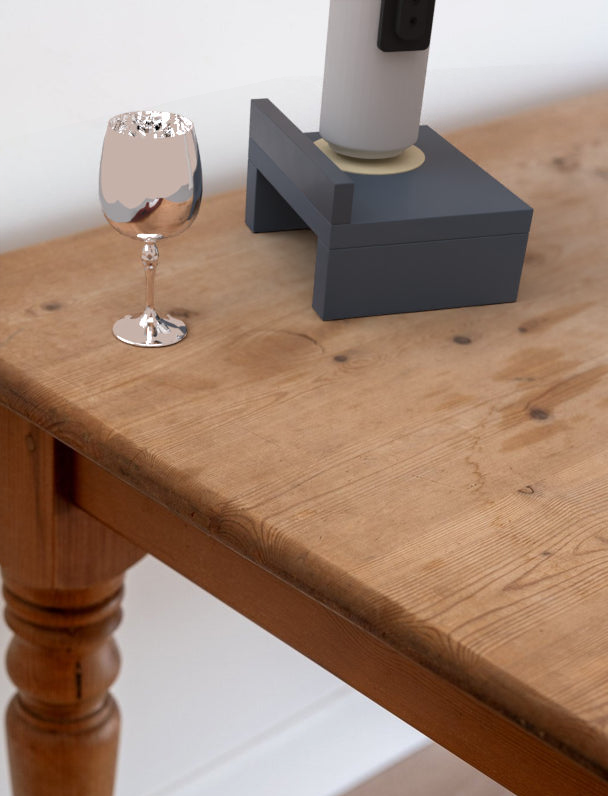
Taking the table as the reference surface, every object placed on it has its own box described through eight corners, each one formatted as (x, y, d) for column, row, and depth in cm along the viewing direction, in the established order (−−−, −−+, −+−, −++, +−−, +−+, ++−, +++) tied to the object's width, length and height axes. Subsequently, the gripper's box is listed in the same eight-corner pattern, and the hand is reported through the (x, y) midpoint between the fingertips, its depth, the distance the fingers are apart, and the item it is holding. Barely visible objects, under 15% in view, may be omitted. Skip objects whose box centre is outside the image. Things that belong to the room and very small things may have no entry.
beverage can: (297, 142, 85) (312, -61, 77) (366, 124, 88) (387, -72, 81) (367, 170, 81) (390, -41, 73) (437, 150, 84) (465, -53, 77)
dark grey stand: (416, 208, 94) (432, 88, 89) (516, 302, 82) (541, 169, 76) (244, 222, 91) (250, 98, 86) (322, 321, 79) (335, 184, 73)
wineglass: (214, 321, 78) (221, 118, 71) (172, 360, 74) (175, 148, 67) (129, 301, 80) (128, 101, 73) (83, 338, 76) (77, 130, 68)
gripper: (558, -310, 64) (497, 71, 75) (417, -328, 77) (383, -2, 88) (416, -313, 62) (375, 77, 73) (298, -331, 75) (278, 2, 86)
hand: (380, 31), depth 80 cm, fingers closed on beverage can, 6 cm apart
